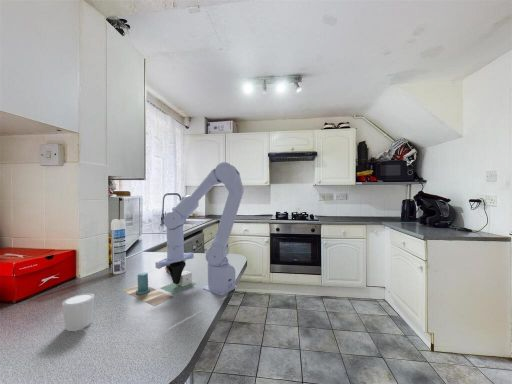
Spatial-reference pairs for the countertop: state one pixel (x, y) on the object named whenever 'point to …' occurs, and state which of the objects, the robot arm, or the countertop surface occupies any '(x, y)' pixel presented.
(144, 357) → the countertop surface
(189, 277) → the die
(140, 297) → the track
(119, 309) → the countertop surface
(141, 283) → the pawn
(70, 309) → the white cylinder
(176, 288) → the felt pad
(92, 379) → the countertop surface
